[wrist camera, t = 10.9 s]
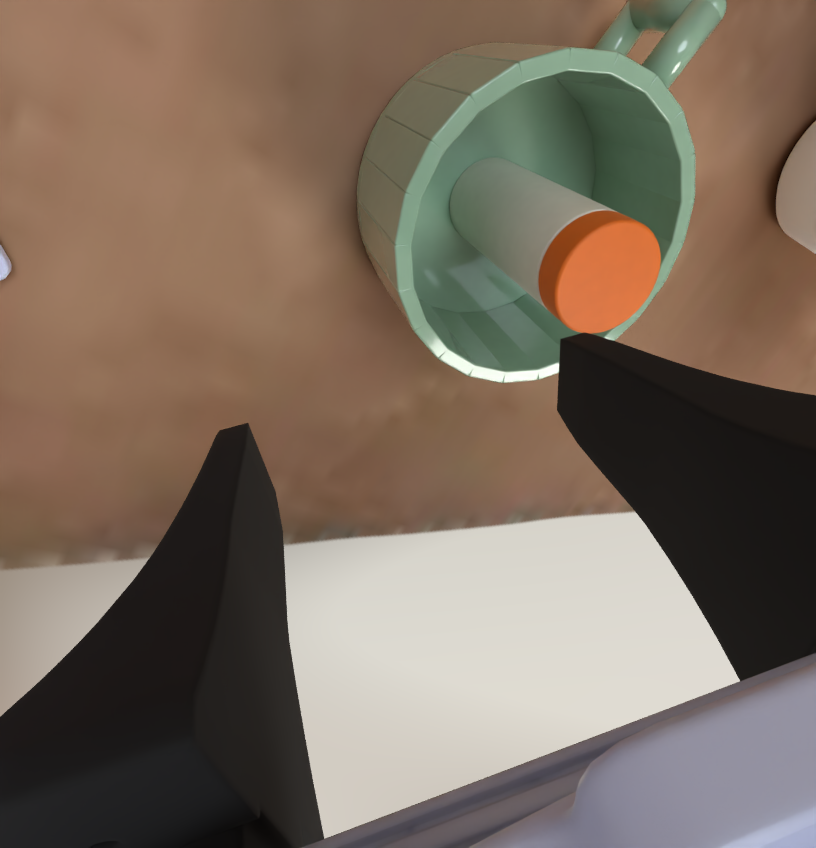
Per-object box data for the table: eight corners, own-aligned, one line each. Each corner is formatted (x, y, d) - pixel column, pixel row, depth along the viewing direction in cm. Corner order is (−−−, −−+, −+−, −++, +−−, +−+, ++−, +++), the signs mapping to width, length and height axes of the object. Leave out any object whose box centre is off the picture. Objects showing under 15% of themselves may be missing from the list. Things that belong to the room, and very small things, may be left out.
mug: (488, 353, 25) (546, 421, 20) (303, 237, 20) (328, 296, 15) (694, 98, 21) (820, 117, 16) (529, -135, 15) (649, -195, 11)
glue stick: (452, 250, 21) (552, 346, 15) (445, 166, 19) (557, 235, 13) (524, 233, 21) (652, 319, 15) (525, 149, 19) (671, 208, 13)
